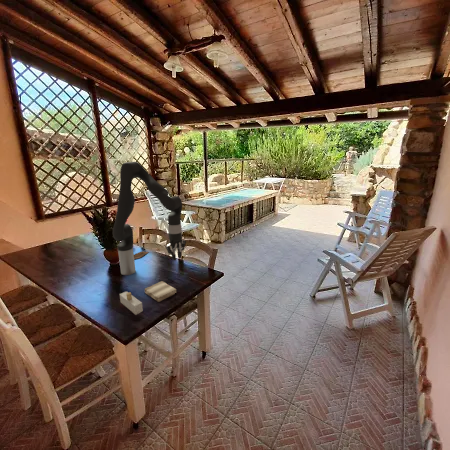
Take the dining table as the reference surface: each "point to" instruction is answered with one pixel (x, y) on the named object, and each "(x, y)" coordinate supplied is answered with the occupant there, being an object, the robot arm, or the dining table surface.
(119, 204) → the robot arm
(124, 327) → the dining table surface
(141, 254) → the wooden fragment
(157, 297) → the maple plate
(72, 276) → the dining table surface
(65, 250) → the dining table surface
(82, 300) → the dining table surface
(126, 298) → the block
